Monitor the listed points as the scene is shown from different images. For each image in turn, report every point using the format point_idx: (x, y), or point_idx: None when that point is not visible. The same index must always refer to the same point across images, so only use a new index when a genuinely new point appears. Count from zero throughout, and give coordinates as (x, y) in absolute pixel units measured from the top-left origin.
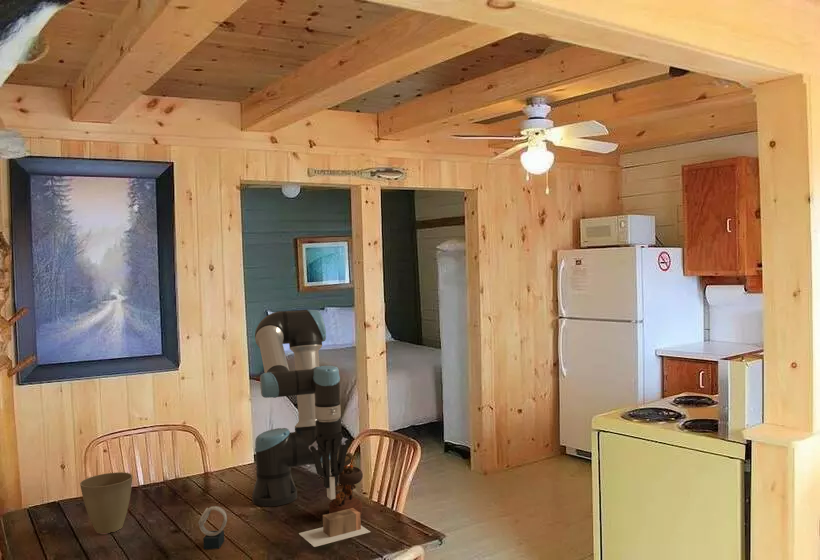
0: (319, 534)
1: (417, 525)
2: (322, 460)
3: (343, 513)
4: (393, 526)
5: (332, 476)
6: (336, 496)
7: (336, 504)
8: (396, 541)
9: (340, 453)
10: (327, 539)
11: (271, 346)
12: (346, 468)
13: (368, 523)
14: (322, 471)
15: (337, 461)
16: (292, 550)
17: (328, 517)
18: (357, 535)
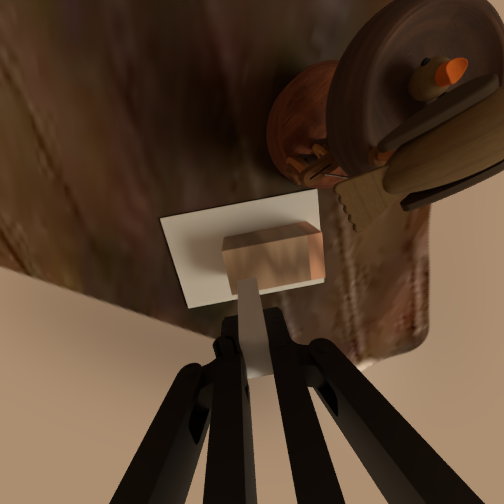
0: (211, 248)
1: (425, 283)
2: (208, 460)
3: (281, 263)
4: (381, 267)
5: (266, 365)
6: (296, 167)
7: (293, 142)
8: (348, 336)
9: (402, 493)
10: (223, 283)
11: None
12: (434, 94)
13: (342, 226)
14: (201, 429)
15: (340, 392)
16: (140, 300)
17: (233, 275)
18: (291, 288)
